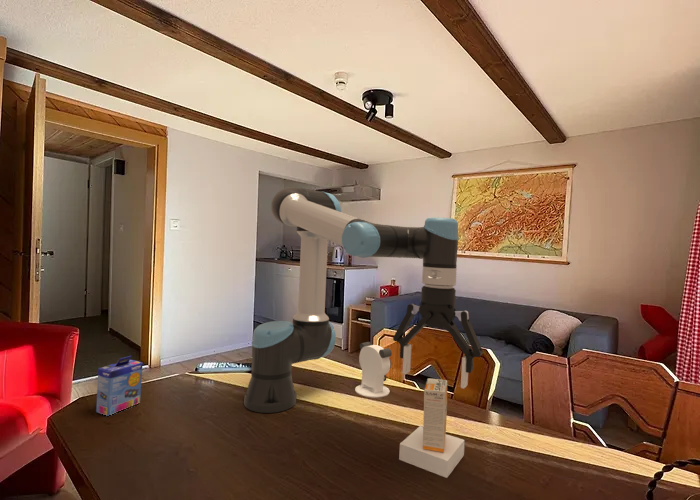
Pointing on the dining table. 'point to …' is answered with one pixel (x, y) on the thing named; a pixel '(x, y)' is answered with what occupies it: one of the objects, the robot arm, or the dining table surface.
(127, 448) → the dining table surface
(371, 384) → the white rounded upright piece
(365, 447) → the dining table surface
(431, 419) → the supplement box
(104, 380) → the ink cartridge box
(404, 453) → the white block
